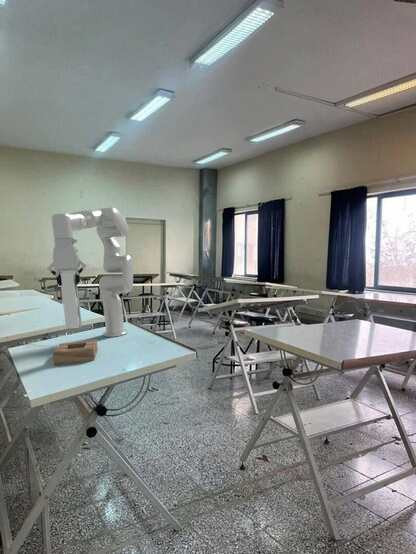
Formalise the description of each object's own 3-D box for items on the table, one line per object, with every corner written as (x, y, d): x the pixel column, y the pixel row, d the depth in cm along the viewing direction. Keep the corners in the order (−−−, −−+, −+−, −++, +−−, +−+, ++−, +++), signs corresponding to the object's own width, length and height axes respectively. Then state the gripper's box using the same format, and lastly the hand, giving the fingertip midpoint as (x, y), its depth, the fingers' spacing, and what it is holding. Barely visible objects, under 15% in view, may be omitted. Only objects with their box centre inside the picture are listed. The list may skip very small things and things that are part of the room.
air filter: (77, 324, 167) (71, 268, 164) (84, 326, 162) (77, 269, 160) (63, 327, 163) (56, 270, 160) (70, 329, 158) (63, 270, 155)
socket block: (61, 354, 170) (60, 343, 170) (97, 349, 173) (96, 339, 173) (54, 365, 155) (52, 353, 154) (94, 360, 158) (93, 348, 157)
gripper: (86, 241, 164) (90, 282, 166) (44, 244, 161) (49, 285, 163) (84, 241, 157) (89, 283, 159) (40, 244, 153) (45, 287, 155)
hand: (69, 284), depth 161 cm, fingers closed on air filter, 6 cm apart
